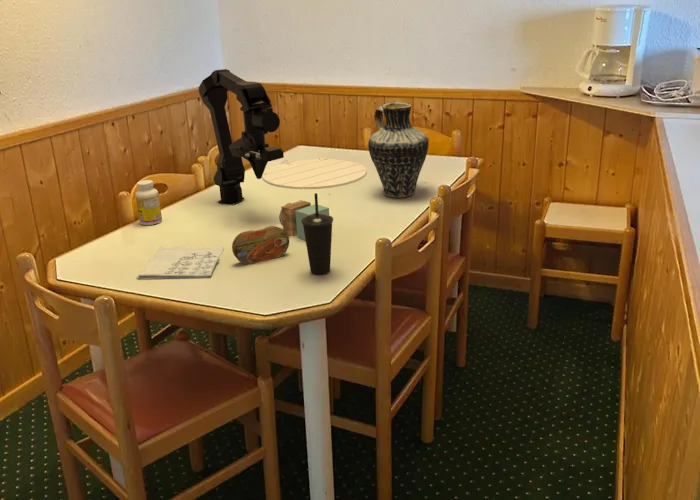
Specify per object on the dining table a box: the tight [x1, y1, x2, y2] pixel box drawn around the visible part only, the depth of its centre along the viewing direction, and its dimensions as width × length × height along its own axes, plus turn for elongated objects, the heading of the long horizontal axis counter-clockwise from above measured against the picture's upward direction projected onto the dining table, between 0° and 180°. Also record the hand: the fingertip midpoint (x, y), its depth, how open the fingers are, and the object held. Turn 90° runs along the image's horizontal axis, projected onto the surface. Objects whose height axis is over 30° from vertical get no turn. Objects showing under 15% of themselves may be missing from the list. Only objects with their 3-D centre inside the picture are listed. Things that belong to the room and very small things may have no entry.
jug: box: [367, 101, 429, 198], centre depth 214 cm, size 21×19×30 cm
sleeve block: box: [280, 200, 311, 237], centre depth 189 cm, size 4×8×8 cm, turn 136°
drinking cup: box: [301, 193, 334, 276], centre depth 159 cm, size 8×8×20 cm
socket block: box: [295, 203, 330, 242], centre depth 184 cm, size 6×8×8 cm
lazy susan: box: [261, 156, 367, 190], centre depth 247 cm, size 40×39×3 cm
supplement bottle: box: [135, 179, 163, 226], centre depth 200 cm, size 7×7×13 cm
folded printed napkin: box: [135, 246, 225, 280], centre depth 171 cm, size 19×20×2 cm
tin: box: [231, 225, 290, 265], centre depth 170 cm, size 15×3×8 cm, turn 118°
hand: (259, 178), depth 199 cm, fingers closed
